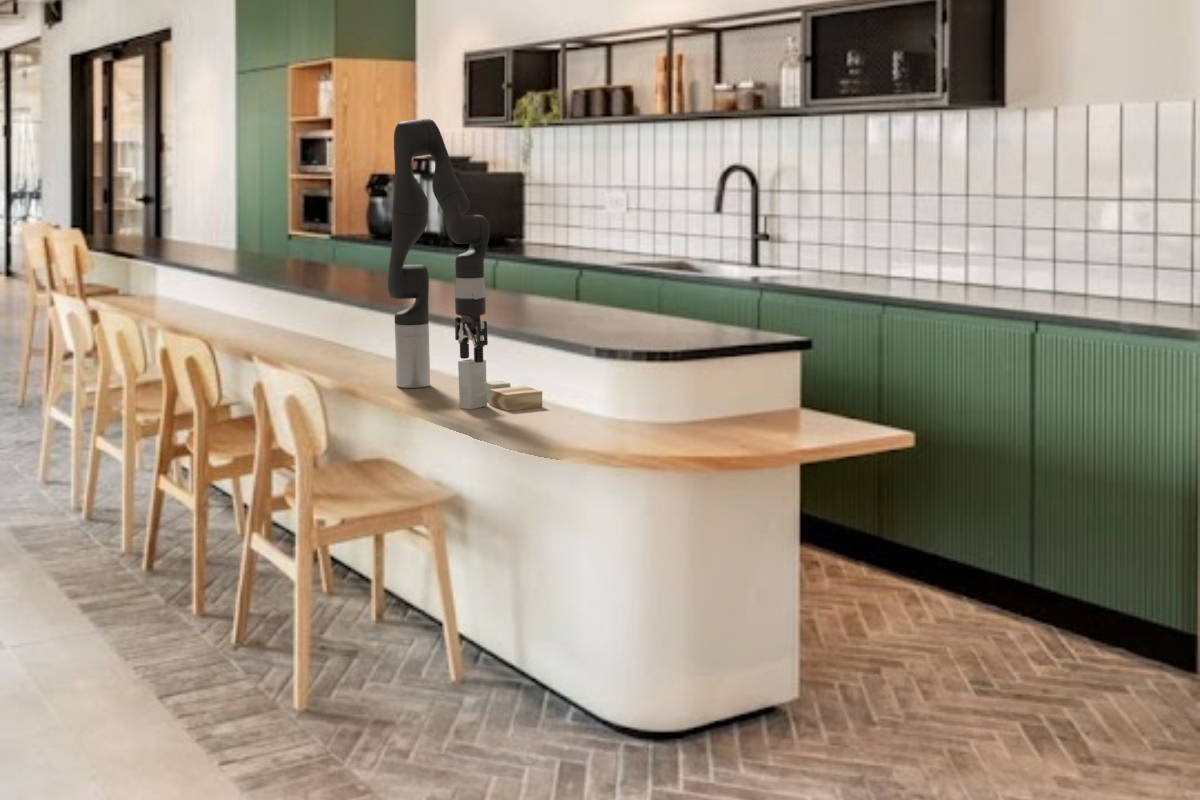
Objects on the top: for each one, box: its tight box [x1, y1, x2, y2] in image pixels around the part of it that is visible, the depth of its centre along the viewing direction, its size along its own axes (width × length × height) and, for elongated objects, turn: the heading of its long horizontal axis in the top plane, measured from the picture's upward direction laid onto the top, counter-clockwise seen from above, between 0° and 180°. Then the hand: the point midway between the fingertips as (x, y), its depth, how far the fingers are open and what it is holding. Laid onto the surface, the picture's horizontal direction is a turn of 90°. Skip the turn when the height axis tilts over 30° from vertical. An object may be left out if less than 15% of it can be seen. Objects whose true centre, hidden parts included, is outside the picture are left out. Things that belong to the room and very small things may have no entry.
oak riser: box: [488, 385, 543, 412], centre depth 370 cm, size 10×10×4 cm
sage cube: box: [486, 380, 511, 403], centre depth 376 cm, size 5×5×5 cm
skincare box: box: [457, 358, 488, 410], centre depth 368 cm, size 6×4×12 cm
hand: (471, 360), depth 366 cm, fingers open, 8 cm apart
